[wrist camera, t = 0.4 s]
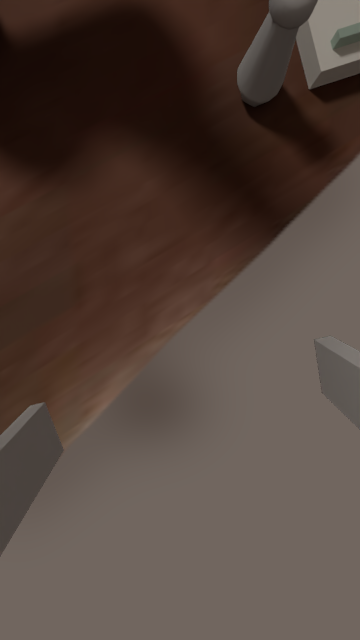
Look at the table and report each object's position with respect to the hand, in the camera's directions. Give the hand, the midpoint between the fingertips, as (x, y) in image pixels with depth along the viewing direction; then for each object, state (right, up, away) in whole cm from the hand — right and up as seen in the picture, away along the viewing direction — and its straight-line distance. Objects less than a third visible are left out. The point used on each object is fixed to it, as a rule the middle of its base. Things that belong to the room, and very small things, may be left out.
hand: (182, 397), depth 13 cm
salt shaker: (+10, +34, +24) cm, 43 cm away
